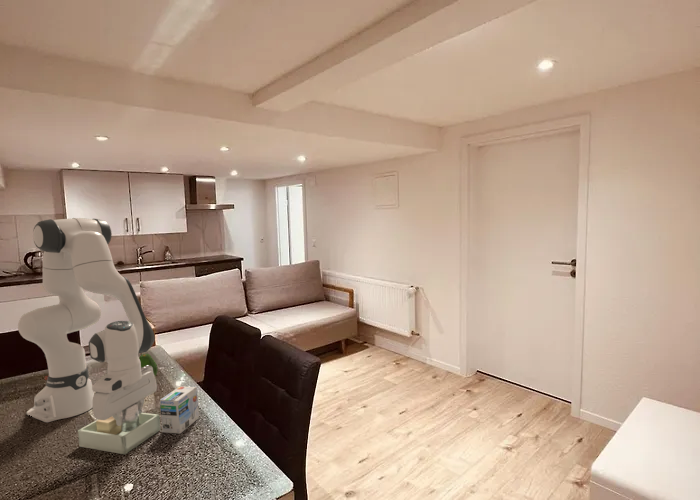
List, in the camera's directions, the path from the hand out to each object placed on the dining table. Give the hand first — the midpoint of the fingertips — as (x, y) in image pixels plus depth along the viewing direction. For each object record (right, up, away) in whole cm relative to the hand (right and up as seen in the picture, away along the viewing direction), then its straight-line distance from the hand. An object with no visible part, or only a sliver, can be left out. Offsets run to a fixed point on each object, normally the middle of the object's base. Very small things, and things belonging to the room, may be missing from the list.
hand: (129, 419), depth 122 cm
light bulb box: (+12, -5, +8) cm, 16 cm away
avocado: (-18, -4, +46) cm, 50 cm away
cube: (-7, -6, +3) cm, 10 cm away
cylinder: (0, -3, 0) cm, 3 cm away
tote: (-4, -7, +2) cm, 8 cm away
